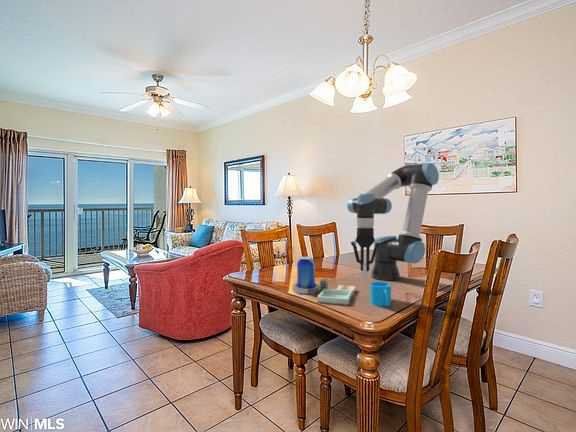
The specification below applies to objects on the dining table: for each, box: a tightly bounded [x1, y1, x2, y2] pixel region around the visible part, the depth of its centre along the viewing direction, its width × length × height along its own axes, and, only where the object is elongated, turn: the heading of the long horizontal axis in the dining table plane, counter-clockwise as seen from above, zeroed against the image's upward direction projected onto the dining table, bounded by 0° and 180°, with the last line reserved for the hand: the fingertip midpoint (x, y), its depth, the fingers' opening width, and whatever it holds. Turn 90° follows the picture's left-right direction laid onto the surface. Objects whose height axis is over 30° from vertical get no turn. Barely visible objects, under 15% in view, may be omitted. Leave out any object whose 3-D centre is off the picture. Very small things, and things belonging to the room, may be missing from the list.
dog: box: [319, 278, 329, 292], centre depth 151 cm, size 3×4×5 cm
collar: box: [292, 282, 320, 295], centre depth 152 cm, size 12×12×2 cm
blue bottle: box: [296, 256, 316, 288], centre depth 152 cm, size 8×8×16 cm
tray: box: [316, 288, 353, 306], centre depth 138 cm, size 13×13×2 cm
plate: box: [336, 284, 357, 296], centre depth 148 cm, size 8×8×2 cm
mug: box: [370, 281, 392, 307], centre depth 129 cm, size 12×8×8 cm
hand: (364, 277), depth 144 cm, fingers closed
